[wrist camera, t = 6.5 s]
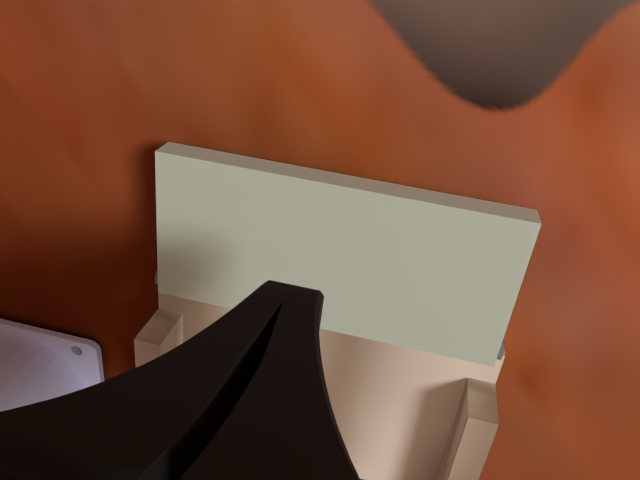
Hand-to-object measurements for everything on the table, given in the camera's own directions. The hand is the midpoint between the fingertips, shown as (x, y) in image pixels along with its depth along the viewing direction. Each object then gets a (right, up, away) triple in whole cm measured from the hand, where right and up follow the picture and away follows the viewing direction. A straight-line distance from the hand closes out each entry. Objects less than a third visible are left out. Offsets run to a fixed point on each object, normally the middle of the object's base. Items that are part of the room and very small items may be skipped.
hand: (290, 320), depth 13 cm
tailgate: (+1, -1, +8) cm, 8 cm away
